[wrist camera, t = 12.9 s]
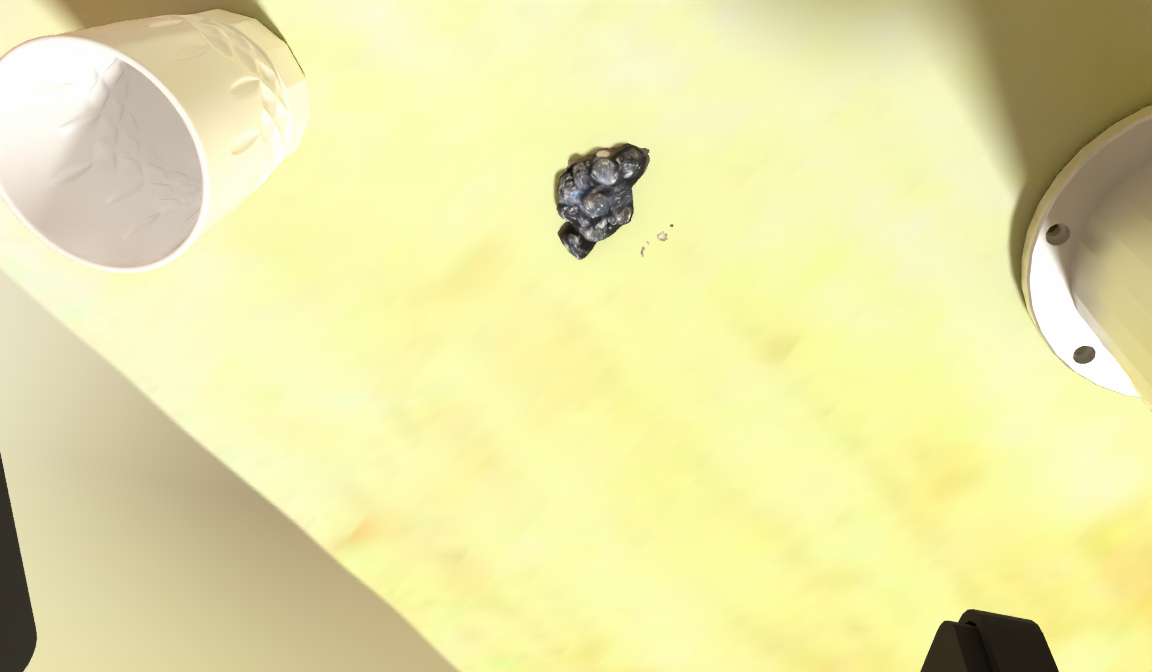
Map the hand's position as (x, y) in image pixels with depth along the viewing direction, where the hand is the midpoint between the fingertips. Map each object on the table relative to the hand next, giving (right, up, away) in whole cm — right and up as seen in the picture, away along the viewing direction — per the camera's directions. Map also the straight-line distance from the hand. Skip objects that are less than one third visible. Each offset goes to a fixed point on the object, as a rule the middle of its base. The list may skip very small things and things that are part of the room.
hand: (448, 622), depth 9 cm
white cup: (-13, +13, +30) cm, 35 cm away
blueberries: (+3, +8, +30) cm, 32 cm away
